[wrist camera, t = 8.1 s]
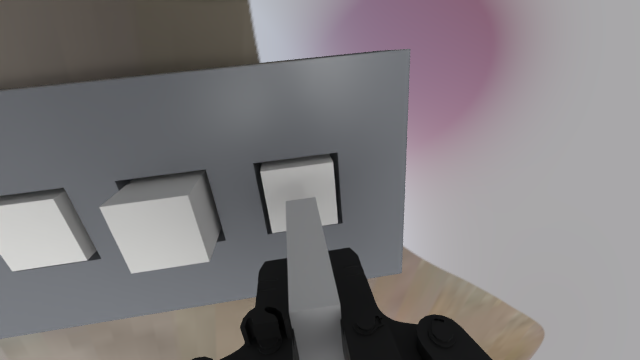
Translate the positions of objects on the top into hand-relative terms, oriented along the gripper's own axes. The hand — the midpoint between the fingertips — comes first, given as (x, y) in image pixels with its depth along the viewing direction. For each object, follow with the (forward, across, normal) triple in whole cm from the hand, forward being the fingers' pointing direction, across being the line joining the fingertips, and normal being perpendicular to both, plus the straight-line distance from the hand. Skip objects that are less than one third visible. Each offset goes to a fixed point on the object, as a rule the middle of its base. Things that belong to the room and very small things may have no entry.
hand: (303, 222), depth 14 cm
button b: (+6, -8, -1) cm, 10 cm away
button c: (+8, 0, -1) cm, 8 cm away
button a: (+8, -16, -1) cm, 18 cm away
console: (+9, -8, -1) cm, 12 cm away
